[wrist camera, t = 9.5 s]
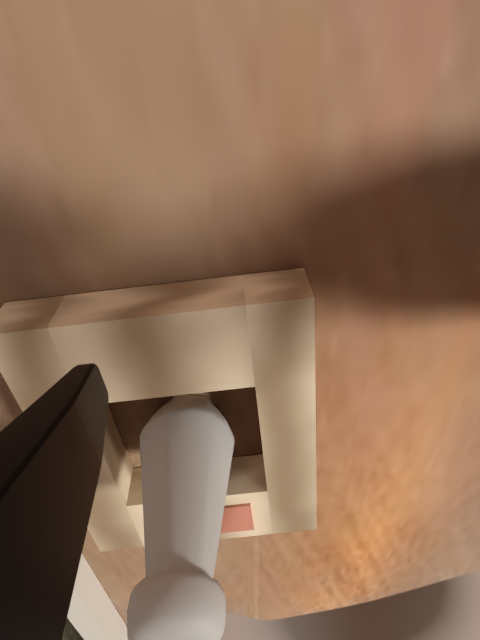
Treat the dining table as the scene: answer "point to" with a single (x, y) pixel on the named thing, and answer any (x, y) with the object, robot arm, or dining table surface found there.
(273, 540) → the dining table surface
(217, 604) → the salt shaker
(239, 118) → the dining table surface
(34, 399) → the maple frame
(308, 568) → the dining table surface
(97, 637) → the white rectangular tray
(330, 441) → the dining table surface
